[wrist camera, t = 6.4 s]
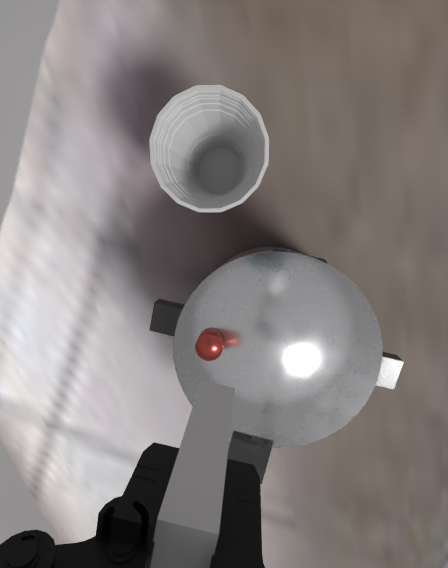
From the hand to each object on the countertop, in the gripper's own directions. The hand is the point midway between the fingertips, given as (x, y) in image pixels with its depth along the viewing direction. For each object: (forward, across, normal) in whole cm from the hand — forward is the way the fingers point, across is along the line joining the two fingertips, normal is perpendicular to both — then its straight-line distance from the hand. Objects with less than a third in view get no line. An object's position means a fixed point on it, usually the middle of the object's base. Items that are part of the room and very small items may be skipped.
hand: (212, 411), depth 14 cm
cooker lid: (+17, +5, -5) cm, 18 cm away
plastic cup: (+30, -5, +13) cm, 33 cm away
